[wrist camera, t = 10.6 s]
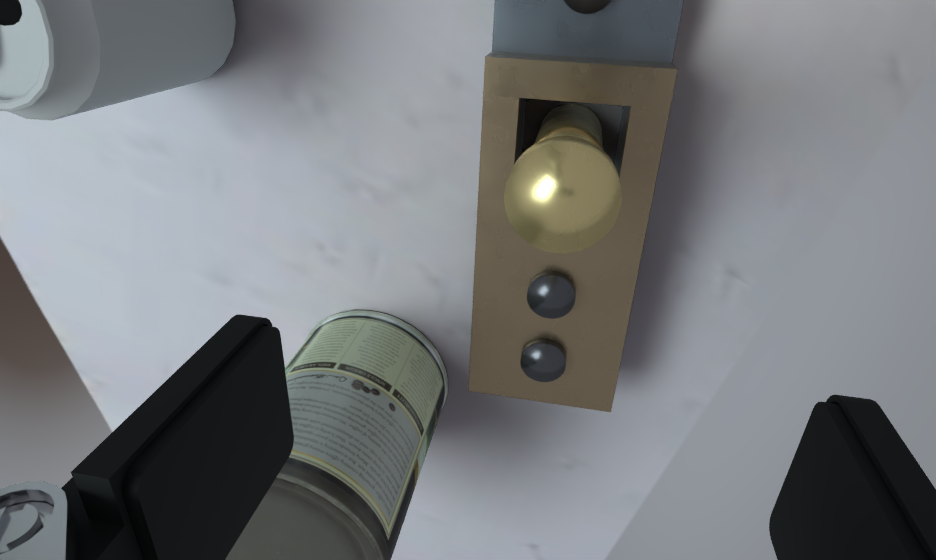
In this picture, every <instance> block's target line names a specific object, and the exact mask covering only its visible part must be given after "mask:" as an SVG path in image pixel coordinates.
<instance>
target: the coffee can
mask: <svg viewBox="0 0 936 560" xmlns="http://www.w3.org/2000/svg"><path fill="white" fill-rule="evenodd" d="M285 374H286V381H287V389H288V396H289V404H290V411H291V419H292V426H293V433H294V443H293V448H292V451H291V454H290V456H289V458H288V459H287V461H286V463H285V464H284V466H283V467H282V469H281V471H280V472H279V474H278V475H277V477H276V479H275V480H274V482H273V484H272V485H271V487H270V488H269V490H268V492H267V493H266V495H265V496H264V498H263V500H262V501H261V503H260V504H259V506H258V508H257V509H256V511H255V512H254V514H253V516H252V517H251V519H250V520H249V522H248V524H247V525H246V527H245V528H244V530H243V532H242V533H241V535H240V536H239V538H238V540H237V541H236V543H235V544H234V546H233V548H232V549H231V551H230V552H229V554H228V556H227V557H226V559H225V560H391V557H392V554H393V551H394V548H395V545H396V542H397V539H398V536H399V534H400V530H401V527H402V525H403V522H404V519H405V516H406V513H407V510H408V507H409V504H410V501H411V498H412V495H413V492H414V489H415V486H416V483H417V480H418V477H419V474H420V471H421V468H422V465H423V462H424V459H425V456H426V453H427V451H428V448H429V445H430V442H431V439H432V436H433V433H434V430H435V428H436V425H437V421H438V418H439V415H440V413H441V410H442V408H443V406H444V404H445V401H446V397H447V392H448V379H447V372H446V369H445V366H444V364H443V361H442V359H441V357H440V355H439V354H438V352H437V350H436V349H435V348H434V346H433V345H432V344H431V342H430V341H429V340H428V339H427V338H426V337H425V336H424V335H423V334H422V333H420V332H419V331H418V330H417V329H416V328H414V327H413V326H411V325H409V324H407V323H405V322H403V321H402V320H400V319H398V318H396V317H393V316H391V315H387V314H384V313H380V312H375V311H367V310H352V311H348V312H342V313H339V314H336V315H333V316H331V317H328V318H327V319H325V320H323V321H322V322H321V323H319V324H318V325H317V326H316V327H315V328H314V329H313V330H312V331H311V332H310V334H309V336H308V338H307V340H306V341H305V343H304V344H303V345H302V347H301V348H300V349H299V350H298V352H297V353H296V354H295V356H294V357H293V358H292V359H291V361H290V362H289V363H288V364H287V366H286V367H285Z"/></svg>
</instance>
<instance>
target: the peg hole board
mask: <svg viewBox="0 0 936 560" xmlns="http://www.w3.org/2000/svg"><path fill="white" fill-rule="evenodd" d="M683 2H684V0H495V7H494V25H493V44H492V52H491V53H489V54H488V55H487V56H485V71H484V91H483V111H482V131H481V151H480V171H479V191H478V211H477V230H476V250H475V270H474V290H473V310H472V330H471V350H470V370H469V390H468V391H473V392H480V393H486V394H493V395H500V396H506V397H513V398H520V399H527V400H533V401H540V402H547V403H553V404H560V405H567V406H574V407H580V408H587V409H594V410H600V411H607V412H611V408H612V403H613V398H614V393H615V388H616V383H617V378H618V373H619V367H620V362H621V357H622V352H623V347H624V342H625V337H626V332H627V327H628V321H629V316H630V311H631V306H632V301H633V296H634V291H635V286H636V281H637V275H638V270H639V265H640V260H641V255H642V250H643V245H644V240H645V234H646V229H647V224H648V219H649V214H650V209H651V204H652V199H653V194H654V188H655V183H656V178H657V173H658V168H659V163H660V158H661V153H662V148H663V142H664V137H665V132H666V127H667V122H668V117H669V112H670V107H671V101H672V96H673V91H674V86H675V81H676V76H677V71H678V69H677V68H676V67H675V66H674V65H673V64H672V60H673V54H674V49H675V44H676V39H677V33H678V28H679V23H680V18H681V12H682V7H683ZM527 98H529V99H543V100H556V101H569V102H583V103H596V104H609V105H623V106H624V108H623V114H622V120H621V127H620V133H619V139H618V146H617V152H616V158H615V164H614V165H615V167H616V169H617V172H618V175H619V180H620V186H621V197H622V200H621V208H620V212H619V215H618V218H617V220H616V222H615V224H614V226H613V227H612V228H611V230H610V231H609V232H608V234H607V235H606V236H605V237H604V238H602V239H601V240H600V241H599V242H597V243H596V244H594V245H592V246H591V247H588V248H586V249H584V250H581V251H578V252H572V253H553V252H547V251H544V250H541V249H539V248H536V247H534V246H532V245H531V244H529V243H528V242H526V241H525V240H524V239H523V238H521V237H520V236H519V235H518V233H517V232H516V231H515V230H514V228H513V227H512V225H511V223H510V221H509V219H508V217H507V214H506V210H505V204H504V193H505V187H506V183H507V180H508V178H509V175H510V173H511V170H512V168H513V166H514V164H515V163H516V161H517V160H518V158H519V157H520V156H521V155H522V147H523V135H524V123H525V111H526V99H527Z"/></svg>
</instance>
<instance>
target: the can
mask: <svg viewBox="0 0 936 560" xmlns="http://www.w3.org/2000/svg"><path fill="white" fill-rule="evenodd" d="M235 25H236V19H235V13H234V6H233V0H0V111H8V112H11V113H13V114H16V115H18V116H21V117H23V118H26V119H39V120H55V119H59V118H63V117H66V116H70V115H74V114H78V113H82V112H85V111H89V110H93V109H97V108H100V107H104V106H108V105H112V104H116V103H119V102H123V101H127V100H131V99H134V98H138V97H142V96H146V95H149V94H153V93H157V92H161V91H165V90H168V89H172V88H176V87H180V86H183V85H187V84H191V83H194V82H197V81H200V80H203V79H206V78H208V77H210V76H211V75H213V74H214V73H215V72H216V71H217V70H218V69H219V68H220V67H221V66H222V65H223V64H224V63H225V61H226V59H227V57H228V55H229V52H230V50H231V48H232V46H233V41H234V33H235Z"/></svg>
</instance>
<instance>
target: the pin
mask: <svg viewBox="0 0 936 560" xmlns="http://www.w3.org/2000/svg"><path fill="white" fill-rule="evenodd" d="M621 200H622V197H621V186H620V180H619V175H618V172H617V169H616V167H615V165H614V163H613V162H612V160H611V159H610V157H609V156H608V155H607V154H606V153H605V152H604V148H603V135H602V127H601V124H600V121H599V119H598V118H597V116H596V115H595V114H594V113H593V112H592V111H591V110H590V109H588V108H586V107H584V106H582V105H578V104H565V105H561V106H559V107H557V108H555V109H553V110H552V111H551V112H550V113H549V114H548V115H547V116H546V117H545V118H544V120H543V122H542V124H541V126H540V129H539V132H538V135H537V138H536V141H535V144H534V145H532V146H531V147H529V148H528V149H527V150H526V151H525V152H524V153H523V154H522V155H521V156H520V157H519V158H518V160H517V161H516V163H515V164H514V166H513V168H512V170H511V173H510V175H509V178H508V180H507V183H506V187H505V193H504V204H505V210H506V214H507V217H508V219H509V221H510V223H511V225H512V227H513V228H514V230H515V231H516V232H517V233H518V235H519V236H520V237H521V238H523V239H524V240H525V241H526V242H528V243H529V244H531V245H532V246H534V247H536V248H539V249H541V250H544V251H547V252H553V253H572V252H578V251H581V250H584V249H586V248H588V247H591V246H592V245H594V244H596V243H597V242H599V241H600V240H601V239H602V238H604V237H605V236H606V235H607V234H608V232H609V231H610V230H611V228H612V227H613V226H614V224H615V222H616V220H617V218H618V215H619V212H620V208H621Z"/></svg>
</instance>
